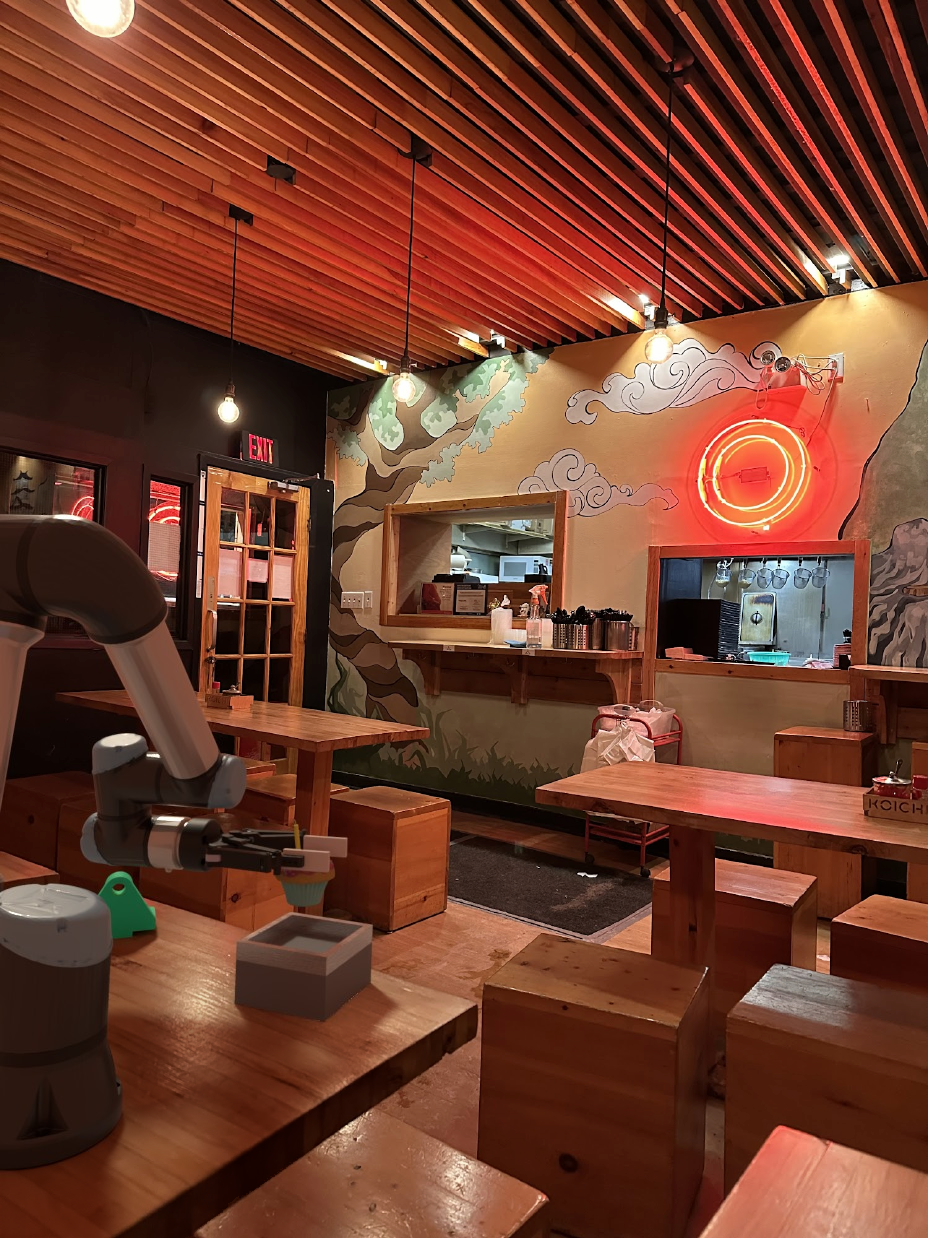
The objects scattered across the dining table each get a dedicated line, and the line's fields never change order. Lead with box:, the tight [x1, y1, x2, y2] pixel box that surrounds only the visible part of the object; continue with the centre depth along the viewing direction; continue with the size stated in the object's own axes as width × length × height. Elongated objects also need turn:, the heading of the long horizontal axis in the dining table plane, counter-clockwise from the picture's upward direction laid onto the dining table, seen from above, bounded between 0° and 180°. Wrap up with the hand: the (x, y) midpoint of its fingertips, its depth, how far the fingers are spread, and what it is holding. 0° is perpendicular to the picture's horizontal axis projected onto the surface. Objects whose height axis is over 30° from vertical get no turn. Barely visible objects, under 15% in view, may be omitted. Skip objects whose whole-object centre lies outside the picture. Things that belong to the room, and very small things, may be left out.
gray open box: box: [234, 931, 373, 1023], centre depth 121 cm, size 14×14×6 cm
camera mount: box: [97, 871, 157, 940], centre depth 144 cm, size 12×8×10 cm, turn 111°
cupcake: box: [274, 819, 336, 908], centre depth 122 cm, size 9×8×12 cm
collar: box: [235, 911, 374, 976], centre depth 122 cm, size 14×14×2 cm
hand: (337, 854), depth 121 cm, fingers closed on cupcake, 8 cm apart
